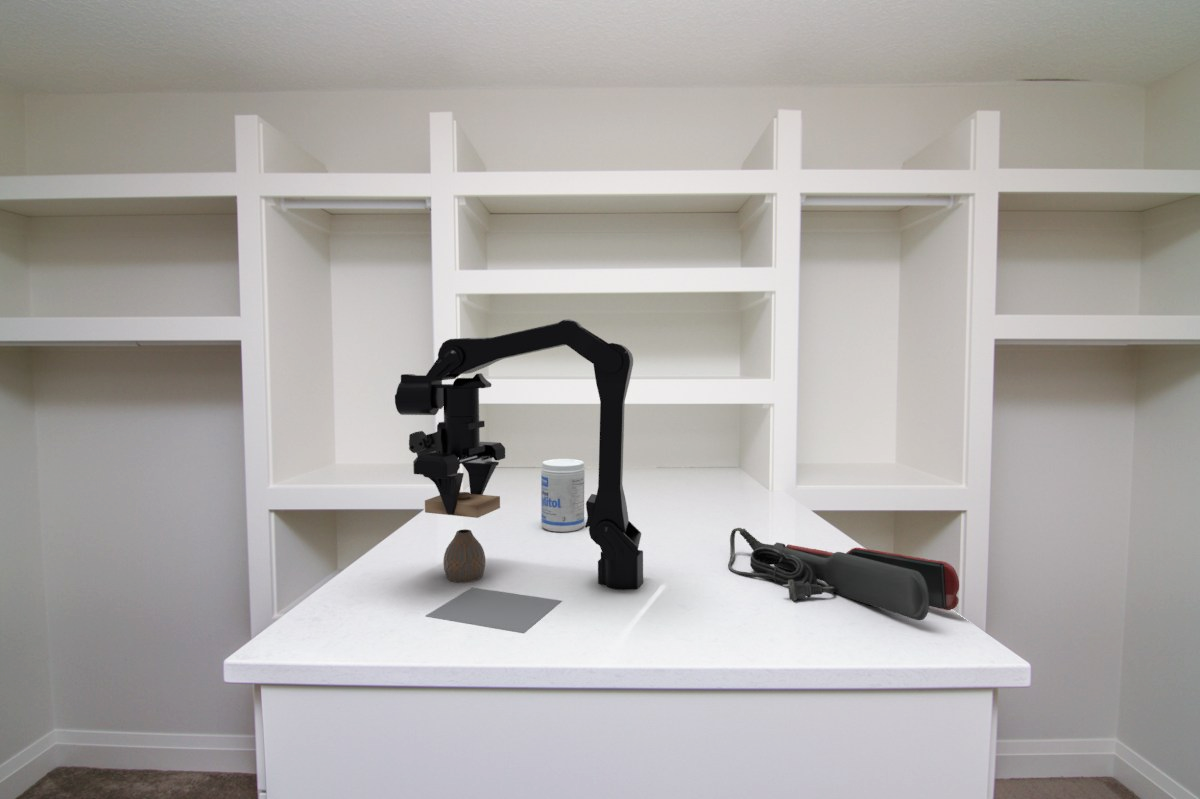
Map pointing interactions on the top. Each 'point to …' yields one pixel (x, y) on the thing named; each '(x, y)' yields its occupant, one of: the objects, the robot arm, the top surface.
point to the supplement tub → (562, 495)
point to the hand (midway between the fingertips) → (463, 508)
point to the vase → (464, 558)
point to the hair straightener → (856, 576)
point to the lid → (465, 505)
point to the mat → (495, 609)
